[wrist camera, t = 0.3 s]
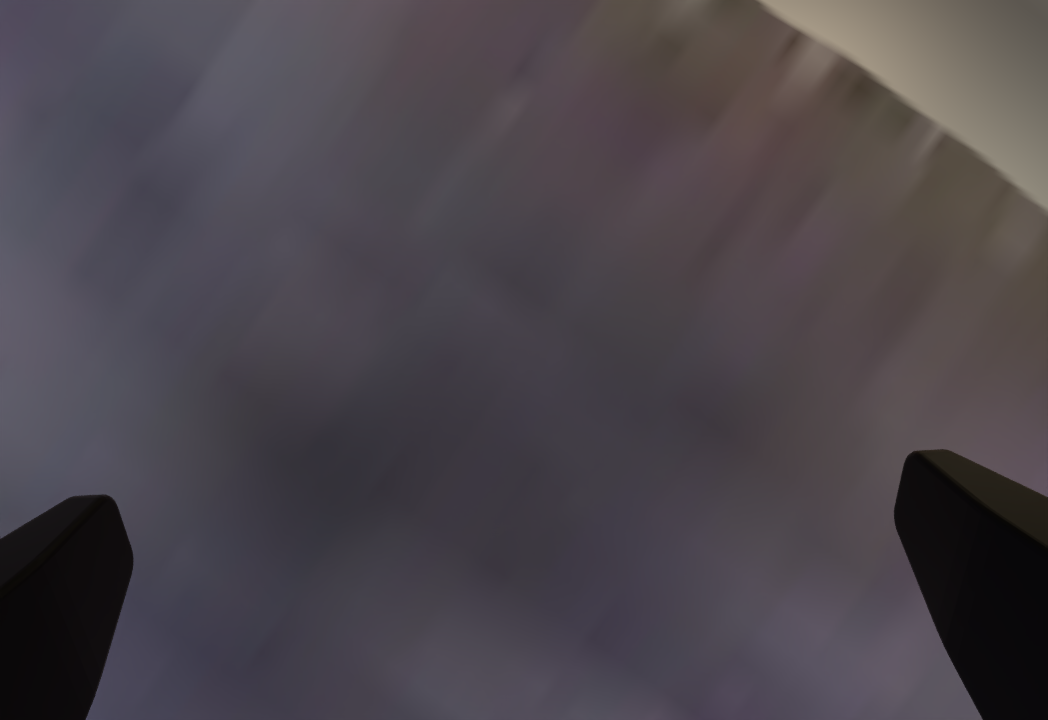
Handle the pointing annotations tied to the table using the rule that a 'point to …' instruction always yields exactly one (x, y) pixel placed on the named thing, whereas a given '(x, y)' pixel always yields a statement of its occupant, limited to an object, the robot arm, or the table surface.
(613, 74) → the table surface
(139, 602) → the table surface
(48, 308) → the table surface
